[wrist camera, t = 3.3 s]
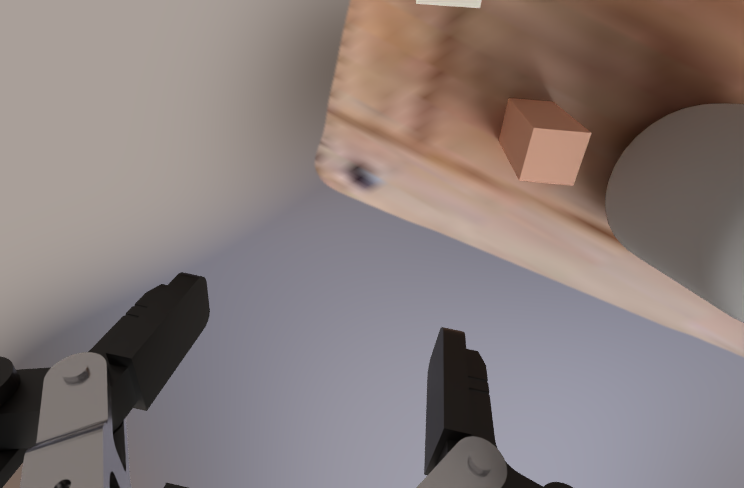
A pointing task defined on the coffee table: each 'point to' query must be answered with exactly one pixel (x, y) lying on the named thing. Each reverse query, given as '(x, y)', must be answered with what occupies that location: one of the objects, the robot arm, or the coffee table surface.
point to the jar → (686, 201)
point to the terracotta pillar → (543, 141)
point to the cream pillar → (452, 3)
